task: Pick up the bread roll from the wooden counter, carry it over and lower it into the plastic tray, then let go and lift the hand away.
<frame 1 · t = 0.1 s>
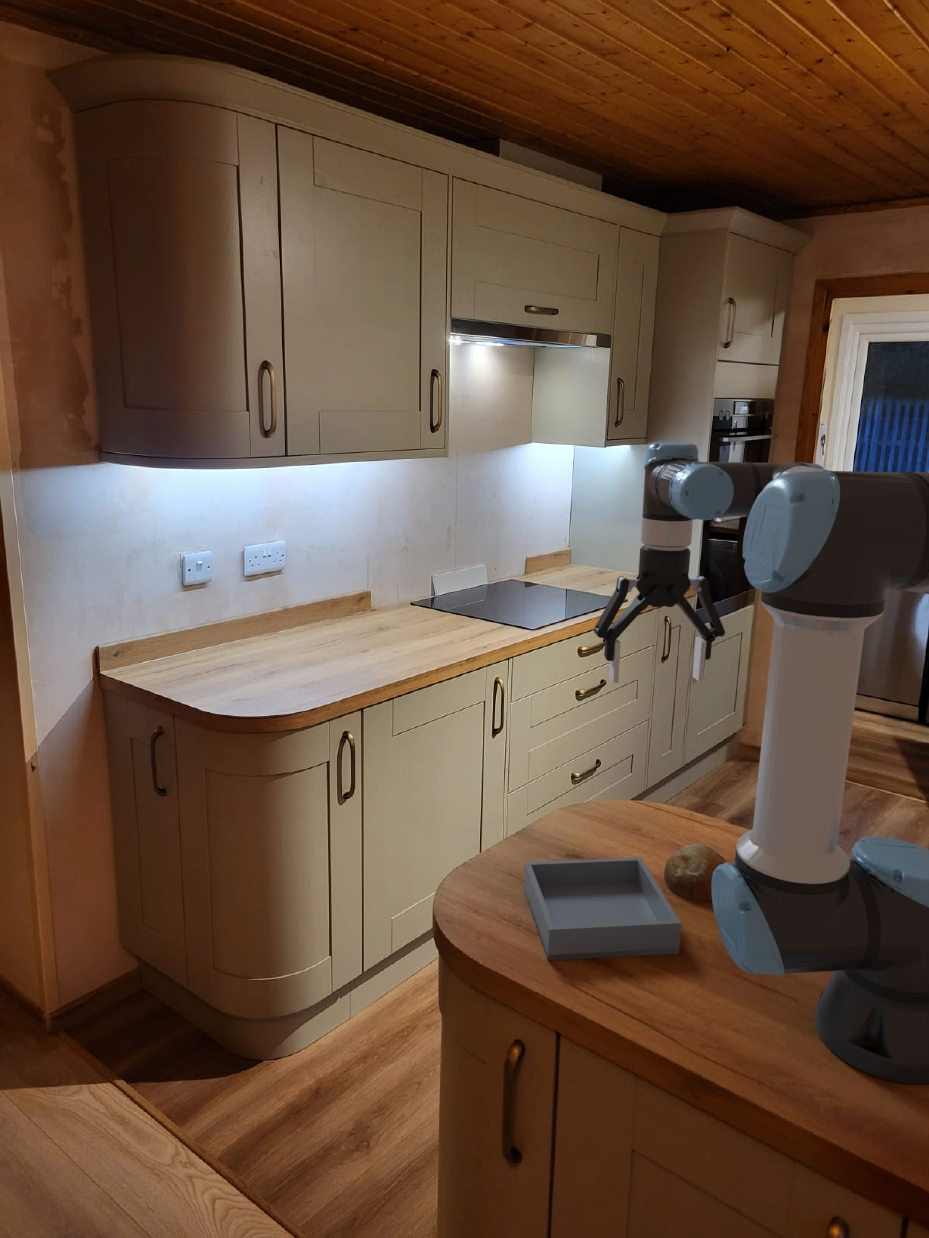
hand: (655, 679, 147), 28 cm above the worktop, tool pointing down, fingers open, 13 cm apart
bread tray: (596, 919, 131), on the worktop
bread roll: (700, 886, 141), on the worktop
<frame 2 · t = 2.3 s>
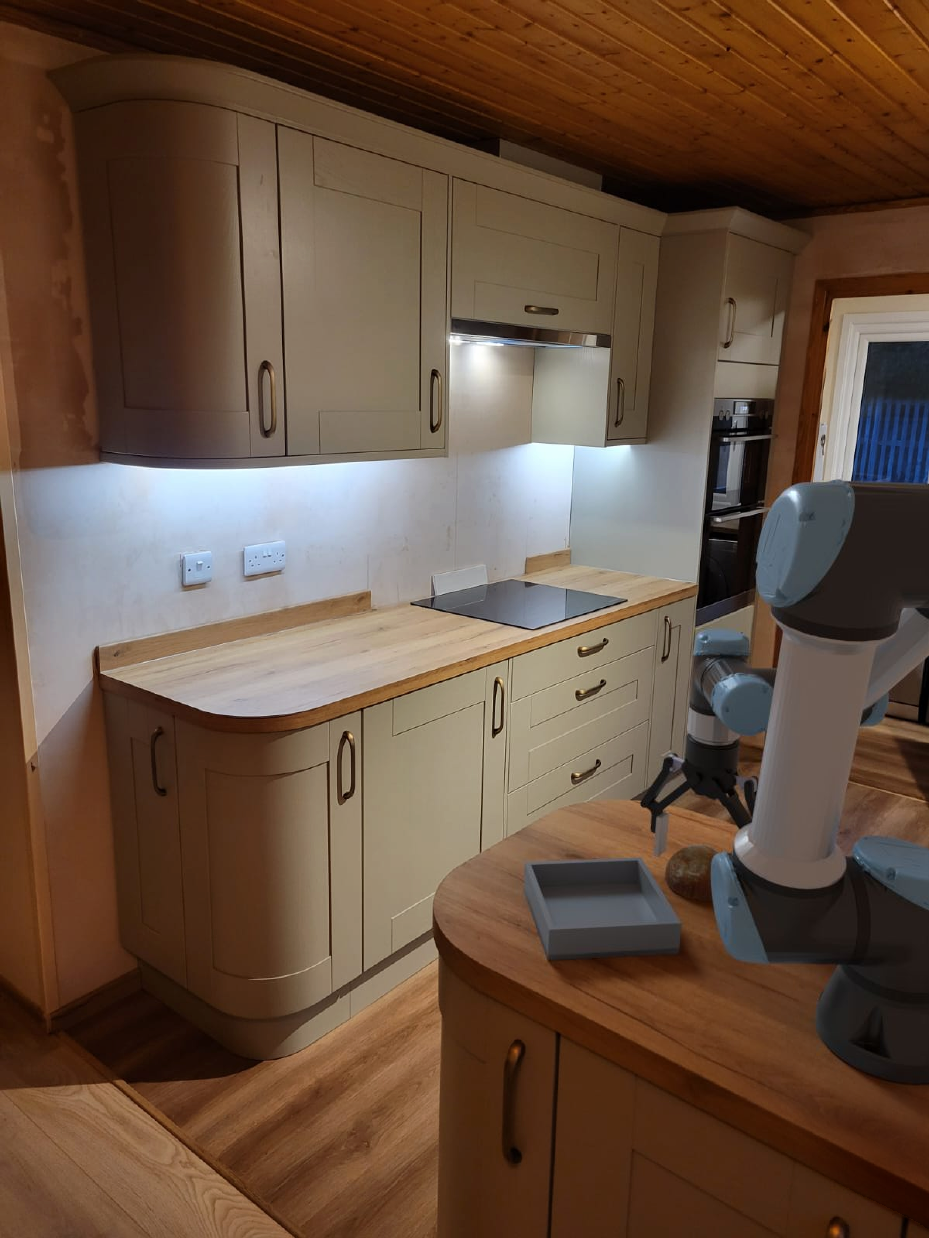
hand: (700, 867, 140), 3 cm above the worktop, tool pointing down, fingers open, 13 cm apart
nothing on the worktop moved.
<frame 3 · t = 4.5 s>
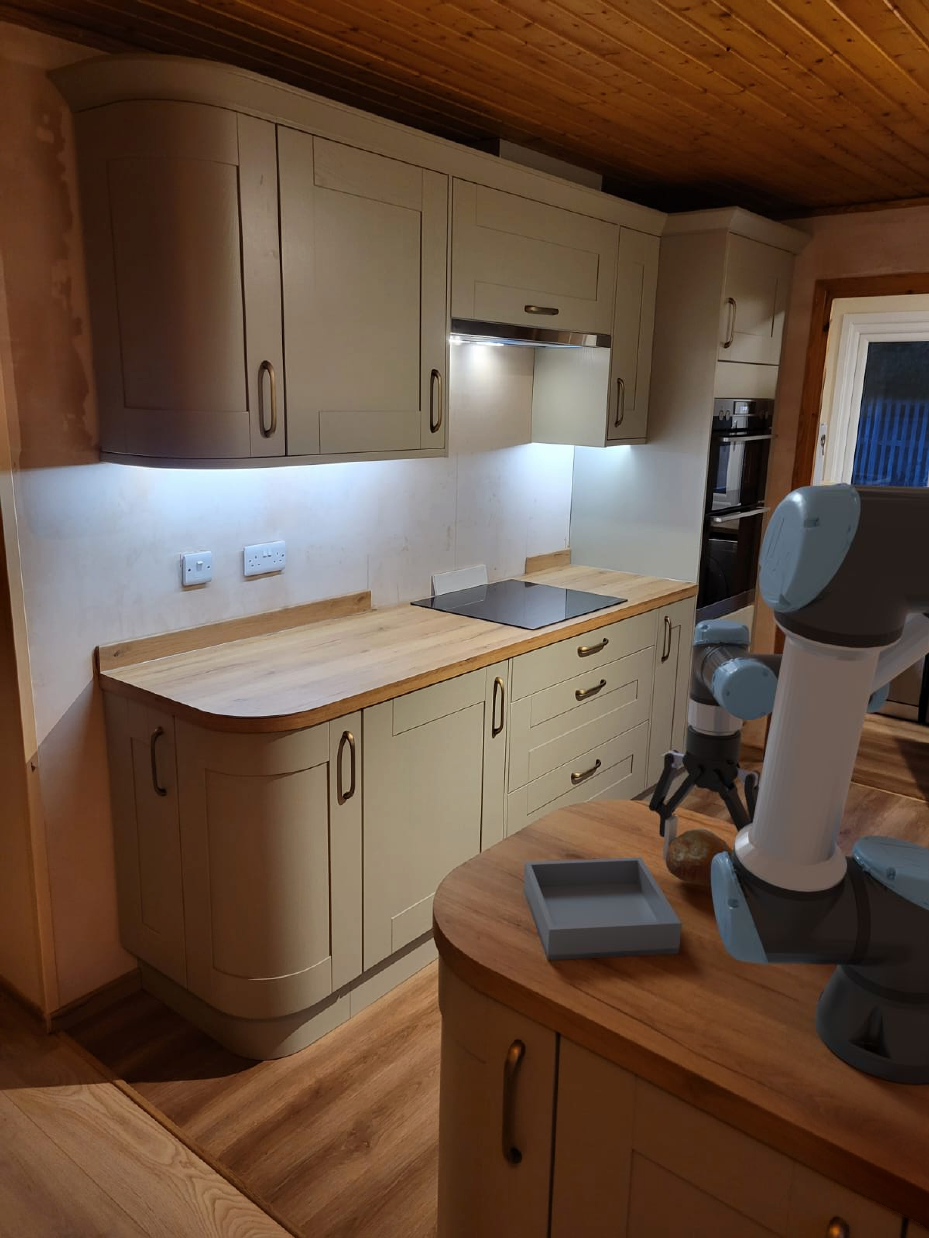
hand: (702, 868, 139), 3 cm above the worktop, tool pointing down, fingers closed on bread roll, 10 cm apart
bread roll: (702, 872, 139), point 2 cm above the worktop, touching gripper
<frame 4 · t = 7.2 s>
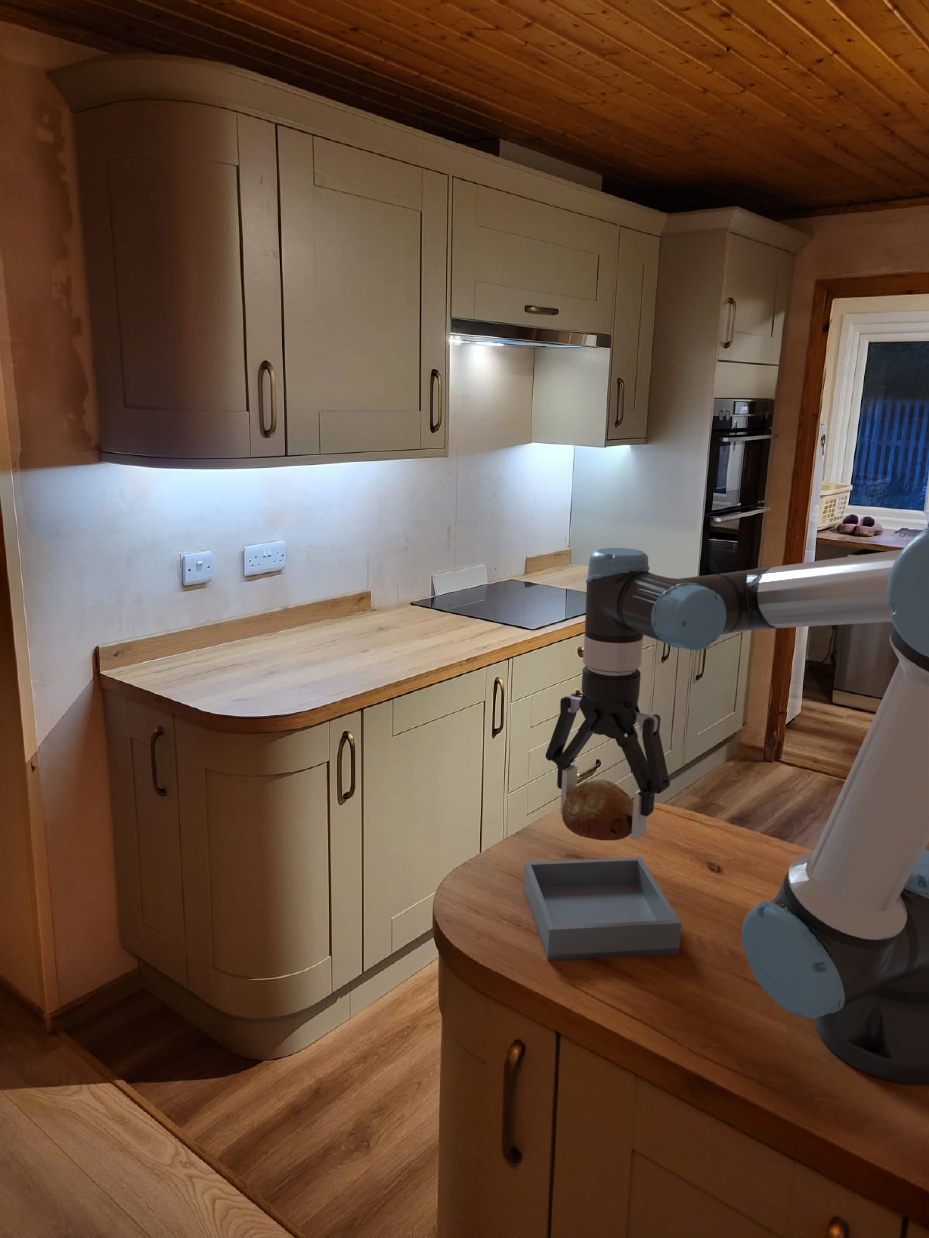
hand: (602, 823, 127), 15 cm above the worktop, tool pointing down, fingers closed on bread roll, 10 cm apart
bread roll: (601, 826, 127), point 14 cm above the worktop, touching gripper
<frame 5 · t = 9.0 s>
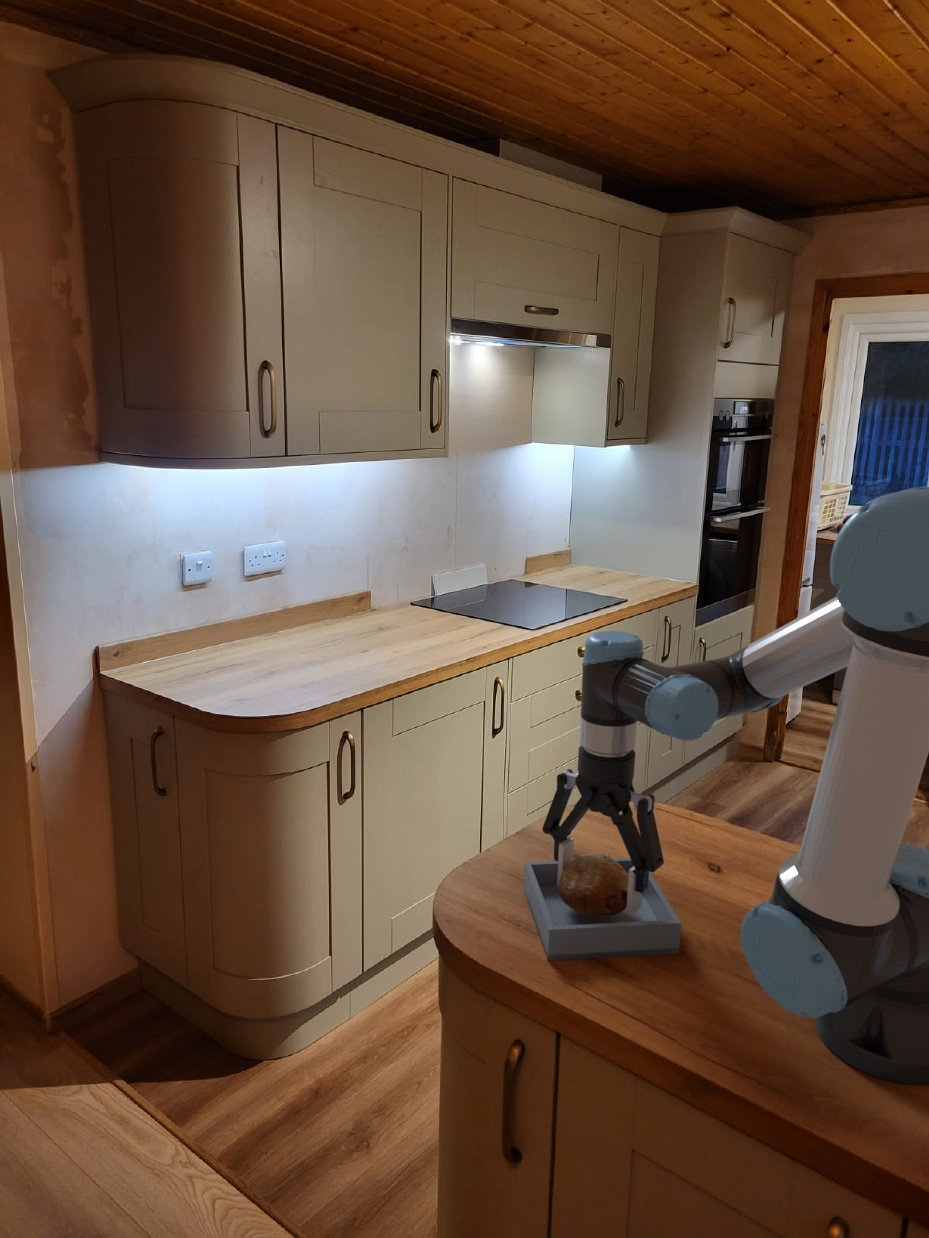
hand: (597, 896, 130), 4 cm above the worktop, tool pointing down, fingers closed on bread roll, 10 cm apart
bread roll: (597, 899, 130), point 3 cm above the worktop, touching gripper
when the fingers open (3 cm above the worktop, at t = 10.1 s): bread roll drops 2 cm, resting on bread tray.
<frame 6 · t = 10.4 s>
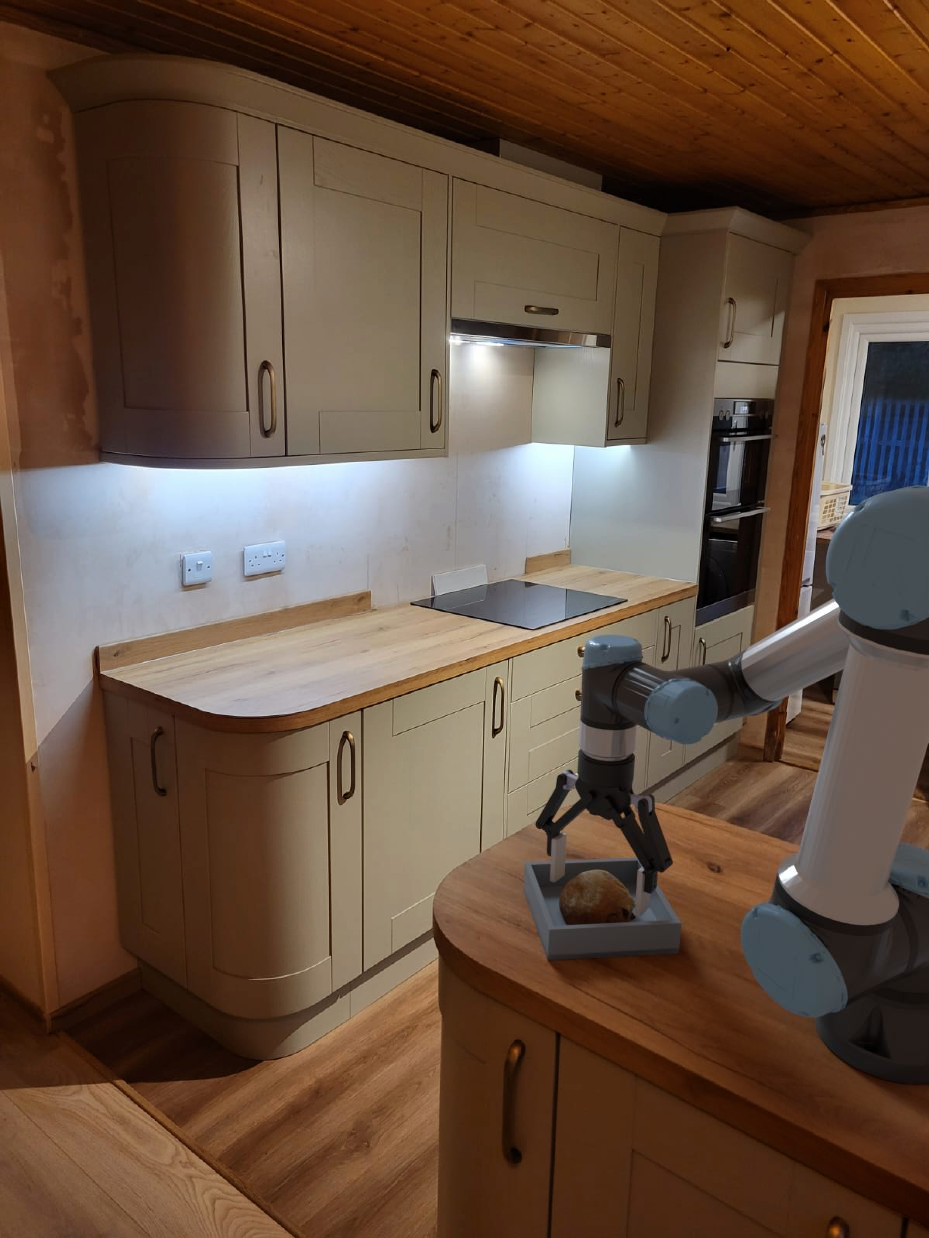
hand: (598, 894, 130), 4 cm above the worktop, tool pointing down, fingers open, 13 cm apart
bread roll: (597, 916, 130), point 1 cm above the worktop, touching bread tray
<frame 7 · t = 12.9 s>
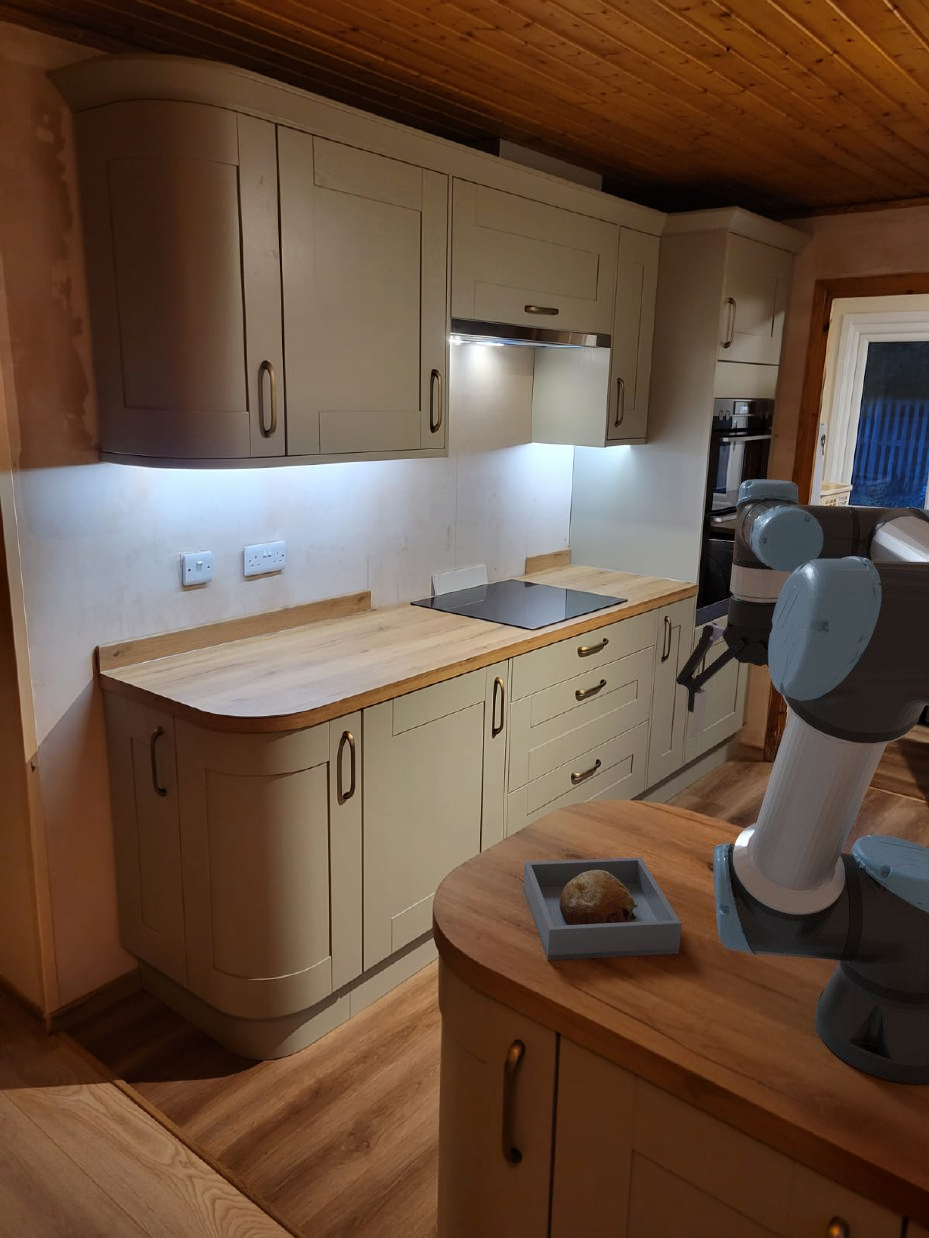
hand: (744, 745, 130), 24 cm above the worktop, tool pointing down, fingers open, 13 cm apart
nothing on the worktop moved.
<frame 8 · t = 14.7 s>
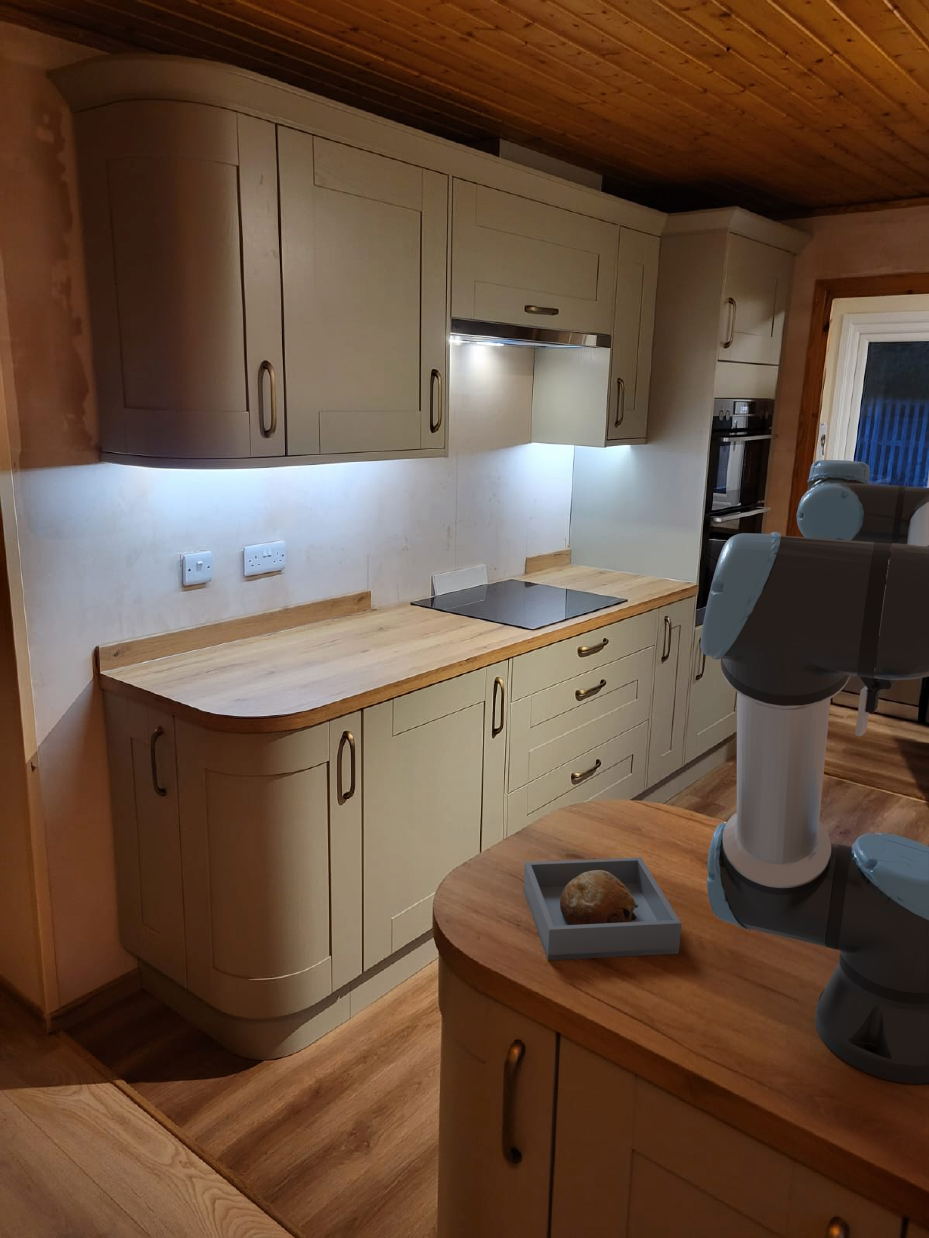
hand: (810, 722, 133), 27 cm above the worktop, tool pointing down, fingers open, 13 cm apart
nothing on the worktop moved.
at the end: bread roll inside the target area on the bread tray (0.4 cm from its centre), point 0.6 cm above the bread tray's base; the gripper is holding nothing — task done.
